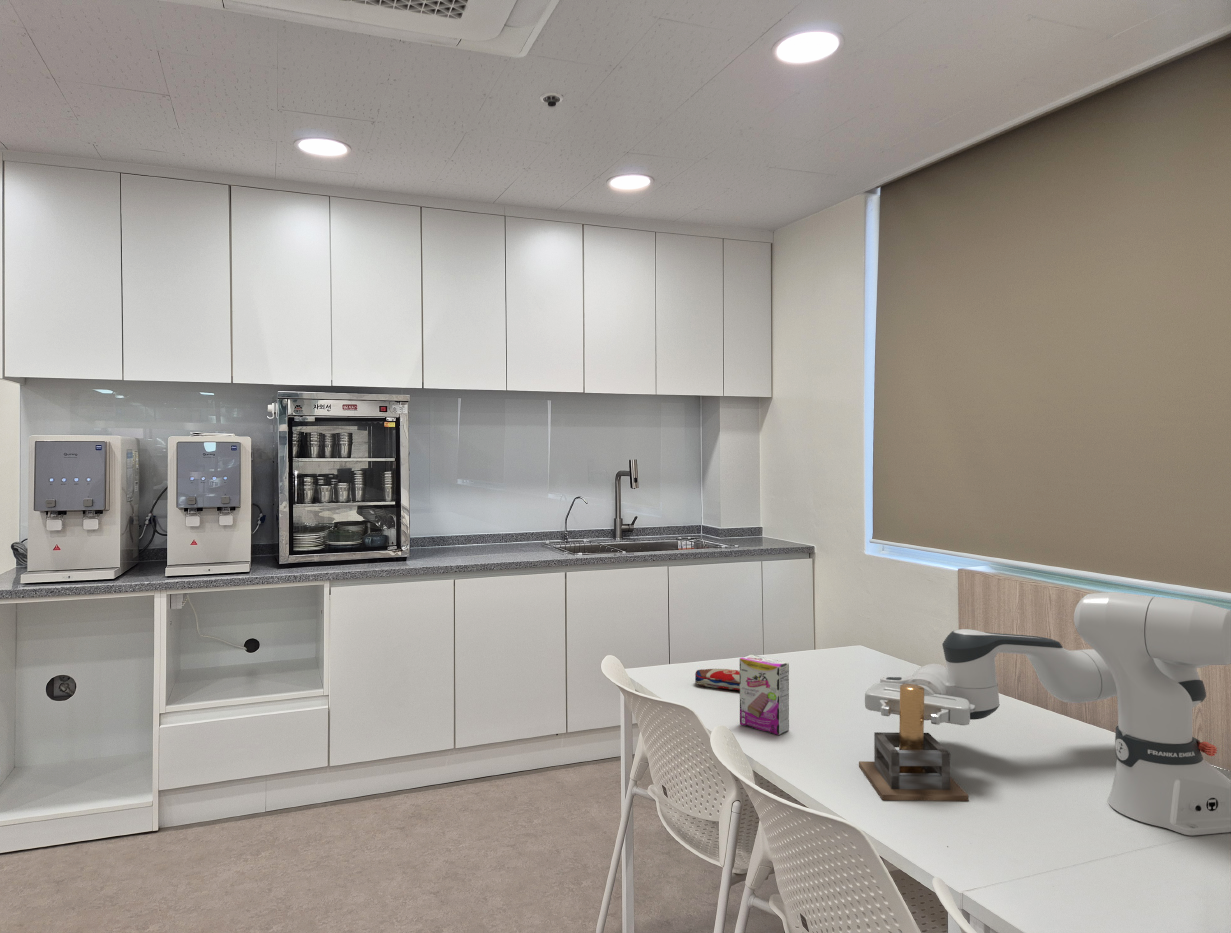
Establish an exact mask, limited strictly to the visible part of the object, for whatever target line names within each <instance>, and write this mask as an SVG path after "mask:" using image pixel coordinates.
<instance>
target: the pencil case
mask: <svg viewBox="0 0 1231 933" xmlns="http://www.w3.org/2000/svg"><path fill="white" fill-rule="evenodd" d="M694 676H695V681H694V682H695V684H697V685H699V686H703V687H708V688H712V689H724V690H736V691H740V669H738V670H737V669H729V668H707V669H705V668H703V669H702V668H701V669H697V670H696V671H695V674H694Z"/></svg>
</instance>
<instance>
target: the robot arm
mask: <svg viewBox="0 0 1231 933" xmlns="http://www.w3.org/2000/svg"><path fill="white" fill-rule="evenodd" d="M1073 612H1074V614H1073V623H1074V627H1075V629H1076V632H1077V633H1078V635H1079V636H1080V638H1081V639H1082V641H1084V642H1085V643H1086V644H1087V645H1089V646H1090V647H1091V648H1089V649H1088V648H1085V649H1076V650H1075V649H1074V650H1070V649H1066V648H1065V647H1064V646H1063V645H1062V644H1061V642H1060V641H1058V640H1056V639H1052V638H1049V637H1044V636H1038V635H1037V636H1035V635H1027V634H1025V635H1024V634H1013V633H1001V632H999V633H998V632H986V631H985V632H984V631H981V630H976V629H971V628H970V629H969V628H962V629H961V628H960V629H956V630H953V631H951V632H950V633H949V634H948V635H947V636H946V637H945V638H944V641H943V642H942V650H943V655H944V659H945V662H946V666H944V665H943V664H940V663H928V664H925V665H923V666H921V667H919V668H918V669H917V670H916V671H914V672H913V674H912V675H908V676H894V677H893V676H882V677H881V678H880V681H879V682H877V683H874V684H873V685H871V686H870V687H869V688H868V689H867V690H866V691H865V693H864V706H865V709H867V711H870V712H871V711H873V712H876V713H877V712H878V713H880V715H881V716H883V717H890V716H891V715H897V716H900V685H902V684H915V685H919V686H922V687H924V721H930V724H931V725H938V726H939V725H941V724H942V723H944V724H945V723H946V724H952V725H957V726H969V725H970V724H971V723H970V722H971V720H974V721H975V720H981V719H986V718H988V717H990V715H992V714H993V713H995V712H996V711H997V710H998V709H999V707H1000V696H999V684H998V677H997V671H996V670H997V669H996V657H997V655H998V654H999V653H1000V654H1015V655H1024V656H1026V658H1027V659H1028V661H1029V662H1030V663H1031V666H1032V667H1033V669H1034V671H1035V673H1036V675H1037V677H1038V680H1039V682H1040V683H1041V685H1042V686H1043V688H1044V689H1045V690H1046V691H1047V692H1048V693H1049V694H1050V695H1051V696H1052V697H1054V698H1056V699H1058V700H1059V701H1062V702H1064V703H1070V704H1083V703H1090V702H1096V701H1097V702H1098V701H1102V700H1103V701H1104V700H1108V699H1110V698H1114V697H1116V701H1117V716H1118V717H1117V719H1118V720H1117V721H1118V722H1117V723H1118V724H1117V725H1116V727H1115V736H1114V737H1115V738H1114V743H1115V744H1114V746H1115V747H1114V748H1115V757H1116V763H1115V764H1116V765H1115V770H1114V771H1115V772H1114V778H1113V782H1112V786H1111V790H1110V793H1109V796H1108V797H1107V803H1108V804H1109V806H1110V807H1111V808H1112V809H1113V810H1115V811H1117V812H1118V813H1120V814H1121V815H1123V816H1126V817H1128V818H1130V819H1132V820H1135V821H1139V822H1141V823H1144V824H1149V825H1150V826H1151V825H1152V826H1156V827H1159V828H1165V829H1168V830H1171V831H1174V832H1176V833H1179V834H1182V835H1185V836H1192V837H1193V836H1200V835H1201V836H1202V835H1203V836H1204V835H1212V834H1221V833H1222V834H1225V833H1231V779H1230V778H1228V776H1226V775H1225V774H1224V773H1222V772H1221V771H1219V770H1218V768H1216V767H1214V766H1213V765H1211V764H1210V762H1208V761H1206V760H1205V759H1204V757H1203V754H1202V753H1204V754H1206V755H1207V756H1210V757H1215V756H1216V754H1217V753H1218V749H1217V747H1216V746H1215V745H1214V744H1212V743H1209V742H1208V741H1200V739H1198V738H1196V737H1195V736H1193V709H1194V708H1195V707H1197V706H1198V705H1199V704H1201V703H1202V702H1204V701H1205V699H1206V697H1207V692H1206V691H1207V690H1206V687H1205V684H1204V681H1203V680H1201V678H1200V675H1199V672H1198V670H1197V669H1201V668H1206V667H1209V666H1228V665H1231V609H1228V608H1224V607H1221V606H1217V605H1214V604H1210V603H1205V602H1202V601H1197V600H1189V599H1181V598H1180V599H1179V598H1173V597H1172V598H1170V597H1163V596H1162V597H1161V596H1153V595H1145V594H1136V593H1135V594H1134V593H1126V592H1119V591H1108V592H1094V593H1093V592H1092V593H1087V594H1086V595H1085V596H1083V597H1082V598H1081V599H1080V600H1079V602H1077V605H1076V606H1075V609H1074V611H1073Z"/></svg>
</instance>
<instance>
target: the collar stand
mask: <svg viewBox="0 0 1231 933" xmlns="http://www.w3.org/2000/svg"><path fill="white" fill-rule="evenodd" d="M873 733H874V735H873V737H874V741H873V742H874V746H873V748H874V752H873V753H874V754H873V756H874V758H873V759H874V760H873V761H871V760H870V761H865V760H864V761H861V760H860V761H858V767H859V769H860V770H861V771H862V773H863V774H864V775H865V777H866V779H867V780H868V782H869V783H870V785H871V786H872V787H873V789H874V790H875V792H876V793H877V795H878V796H879V797H880V799H881V800H882V801H925V802H926V801H929V802H931V801H933V802H936V801H937V802H939V801H941V802H942V801H944V802H948V801H950V802H951V801H953V802H969V798H970V796H969V794H968V793H967V792H966V791H965V790H964V789H963V788H962V787H961V786H960V784H958V783H957V781H955V780H954V779H953V778H952V777H951V762H950V760H951V759H950V758H951V757H950V756H951V754H950V752H949V751H948V750H947V749H946V748H945V747H944V746H943V745H942V744H941V743H940V742H939V741H938V740H936V738H935V737H934V736H933V735H932V734H931V733H930V732H924V744H923V750H899V749H897V748H899V732H882V731H881V732H873ZM899 766H923V773H899Z"/></svg>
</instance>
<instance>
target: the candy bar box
mask: <svg viewBox="0 0 1231 933" xmlns="http://www.w3.org/2000/svg"><path fill="white" fill-rule="evenodd" d="M789 664H790V662H786V661H782V660H777V659H772V658H767V657H763V656H758V655H754V654H748V655H745V656H741V657H740V658H739V671H740V690H739V725H741V726H744V727H748V728H752V729H755V730H759V731H763V732H765V733H769V734H772V735H776V736H780V735H783V734H785V733H786V732H788V731H790V685H789V684H790V665H789Z"/></svg>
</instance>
